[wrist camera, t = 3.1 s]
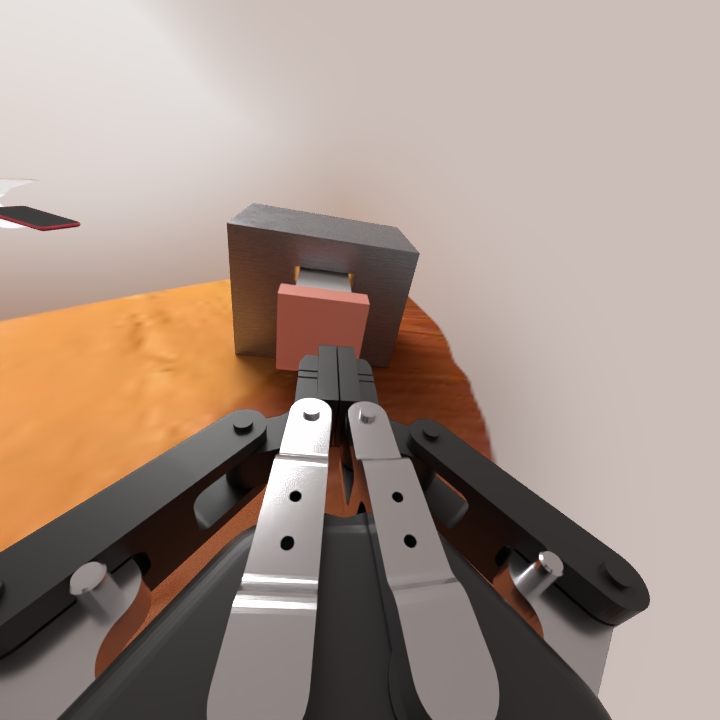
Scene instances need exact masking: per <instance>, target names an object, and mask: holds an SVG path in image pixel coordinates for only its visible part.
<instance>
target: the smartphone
mask: <svg viewBox="0 0 720 720" xmlns="http://www.w3.org/2000/svg"><path fill="white" fill-rule="evenodd" d="M0 218H2V219H5V220H9V221H12V222H15V223H19V224H22V225H25V226H28V227H30V228H33V229H36V230H40V231H51V230H59V229H67V228H73V227H79V226H80V223H79V222H77V221H74V220H71V219H67V218H64V217H60V216H57V215H53V214H50V213H47V212H43V211H40V210H37V209H33V208H29V207H26V206H12V207H0Z"/></svg>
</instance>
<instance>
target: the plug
mask: <svg viewBox="0 0 720 720" xmlns="http://www.w3.org/2000/svg"><path fill="white" fill-rule="evenodd" d="M369 306H370V303H369V300H368V296H367V295H366V294H359V293H351V287H350V281H349V275H348V273H340V272H333V271H326V270H319V269H312V268H305V267H300V269H299V274H298V278H297V282H296V285H289V284H281V285H280V288H279V291H278V301H277V343H276V369H282V370H294V371H299V364H300V361H301V360H302V359H303V357H304V356H305V355H314V356H318V350H319V344H321V345H332V346H336V348H337V346H344V347H354V350H355V357H356V359H359V355H360V350H361V346H362V341H363V336H364V331H365V326H366V321H367V316H368V311H369Z"/></svg>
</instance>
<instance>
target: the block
mask: <svg viewBox="0 0 720 720" xmlns="http://www.w3.org/2000/svg"><path fill="white" fill-rule="evenodd" d="M227 232H228V248H229V264H230V280H231V295H232V311H233V326H234V342H235V354H240V355H251V356H262V357H273V358H276V343H277V301H278V291H279V288H280V285H281V284H289V285H296V282H297V278H298V274H299V269H300V267H305V268H312V269H319V270H326V271H333V272H340V273H348V275H349V281H350V287H351V293H359V294H366V295H367V296H368V300H369V303H370V306H369V311H368V316H367V321H366V326H365V331H364V336H363V341H362V346H361V350H360V355H359V359H364V360H366V361H367V362H368V364H369V365H370V366H374V367H385V368H388V367H389V364H390V360H391V356H392V353H393V349H394V345H395V342H396V338H397V334H398V331H399V327H400V323H401V320H402V316H403V312H404V309H405V305H406V301H407V298H408V294H409V290H410V287H411V283H412V279H413V276H414V272H415V268H416V265H417V261H418V257H419V252H418V251H417V250H416V249H415V247H414V246H413V245H412V244H411V243H410V242H409V241H408V239H407V238H406V237H405V236H404V235H403V234H402V233H401V232H400V231H399V229H398V228H397V227H391V226H385V225H379V224H374V223H367V222H362V221H355V220H350V219H344V218H338V217H332V216H326V215H321V214H315V213H309V212H303V211H296V210H291V209H285V208H279V207H273V206H268V205H262V204H256V203H253V204H252V205H250V206H249V207H248V208H246V209H245V210H244V211H242V212H241V213H240V214H238V215H237V216H236V217H234V218H233V219H231V220H230V221H229V222H227Z"/></svg>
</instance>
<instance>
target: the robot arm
mask: <svg viewBox="0 0 720 720" xmlns="http://www.w3.org/2000/svg"><path fill="white" fill-rule="evenodd" d="M332 441H333V447H340V460H339V472H340V480H341V488H342V496H343V504H344V514H345V518H342V517H338V516H334V515H330V514H326V513H324V508H325V496H326V484H327V473H328V451H329V447H332ZM436 472H437V473H438V474H439V475H440V476H441V477H442V478H444V479H445V480H446V481H447V482H448V483H450V484H451V485H452V486H453V487H454V488H456V489H457V490H458V491H459V492H460V493H461V494H462V495H463V496H464V497H465V498H466V500H467V502H466V501H465V500H464V499H463V498H461V497H460V496H459V495H458V494H457V493H456V492H454V491H453V490H452V489H451V488H450V487H449V486H447V485H446V484H445V483H444V482H443V481H441V480H440V479H439V478H438V477H437V476H436ZM267 483H268V485H267V489H266V493H265V497H264V500H263V504H262V508H261V512H260V515H259V519H258V523H257V525H254V526H252V527H250V528H248V529H247V530H245V531H243V532H242V533H240V534H239V535H237V536H236V537H235V538H233V539H232V540H231V541H230V542H229V543H227V544H226V545H225V546H224V547H223V548H222V549H221V550H220V551H219V552H218V553H217V554H216V555H215V557H214V558H213V559H212V560H211V561H210V562H209V563H208V564H207V565H206V566H205V567H204V568H203V569H202V570H201V571H200V572H199V573H198V574H197V575H196V576H195V577H194V578H193V579H192V580H191V581H190V582H189V583H188V584H187V585H186V586H185V587H184V588H183V590H182V591H181V592H180V593H179V594H178V595H177V596H176V597H175V598H174V599H173V600H172V601H171V602H170V603H169V604H168V605H167V606H166V607H165V608H164V609H163V610H162V611H161V612H160V613H159V614H158V615H157V616H156V617H155V618H154V619H153V620H152V621H151V623H150V624H149V625H148V626H147V627H146V628H145V629H144V630H143V631H142V632H141V633H140V634H139V635H138V636H137V637H136V638H135V639H134V640H133V641H132V642H131V643H130V644H129V645H128V646H127V647H126V648H125V649H124V650H123V648H124V647H125V645H126V644H127V642H128V641H129V640H130V639H131V637H132V636H133V635H134V634H135V633H136V632H137V630H138V629H139V628H140V627H141V625H142V624H143V622H144V620H145V619H146V617H147V614H148V612H149V609H150V605H151V598H152V597H151V591H152V590H154V589H155V588H156V587H157V586H158V585H159V584H160V583H161V582H162V581H163V580H164V579H166V578H167V577H168V576H169V575H170V574H171V573H172V572H173V571H174V570H175V569H177V568H178V567H179V566H180V565H181V564H182V563H183V562H184V561H185V560H186V559H187V558H189V557H190V556H191V555H192V554H193V553H194V552H195V551H196V550H197V549H198V548H200V547H201V546H202V545H203V544H204V543H205V542H206V541H207V540H208V539H209V538H211V537H212V536H213V535H214V534H215V533H216V532H217V531H218V530H219V529H220V528H221V527H223V526H224V525H225V524H226V523H227V522H228V521H229V520H230V519H231V518H232V517H234V516H235V515H236V514H237V513H238V512H239V511H240V510H241V509H242V508H243V507H244V506H246V505H247V504H248V503H249V502H250V501H251V500H252V499H253V498H254V497H255V496H257V495H258V494H259V493H260V492H261V491H262V490H263V489H264V487H265V486H266V484H267ZM437 531H438V532H439V533H440V534H441V535H440V534H439V533H438V532H437ZM458 551H459V552H460V553H461V554H462V555H463V556H464V557H465V558H466V559H467V560H468V561H469V562H470V563H471V564H472V565H473V566H474V567H475V568H476V569H477V570H478V571H479V572H480V573H481V574H482V575H483V576H484V577H485V578H486V579H487V580H488V581H489V582H490V583H491V584H492V585H493V587H492V586H491V585H490V584H489V583H488V582H487V581H486V579H485V578H484V577H483V576H482V575H481V574H480V573H479V572H478V571H477V570H476V569H475V568H474V567H473V566H472V565H471V564H470V563H469V562H468V561H467V560H466V559H465V558H464V557H463V556H462V555H461V554H460V553H459V552H458ZM649 602H650V596H649V592H648V589H647V587H646V585H645V583H644V581H643V579H642V578H641V576H640V575H639V574H638V572H637V571H636V570H635V569H634V568H633V567H632V566H631V565H630V564H629V563H628V562H627V561H626V560H625V559H624V558H622V557H621V556H620V555H619V554H617V553H616V552H615V551H613V550H612V549H610V548H609V547H608V546H606V545H605V544H604V543H602V542H601V541H599V540H598V539H597V538H595V537H594V536H593V535H591V534H590V533H589V532H587V531H586V530H584V529H583V528H582V527H580V526H579V525H577V524H576V523H575V522H574V521H572V520H571V519H569V518H568V517H567V516H565V515H564V514H563V513H561V512H560V511H558V510H557V509H556V508H554V507H553V506H551V505H550V504H549V503H547V502H546V501H545V500H543V499H542V498H540V497H539V496H538V495H537V494H535V493H534V492H533V491H531V490H529V489H528V488H527V487H526V486H524V485H523V484H522V483H520V482H518V481H517V480H516V479H515V478H513V477H512V476H510V475H509V474H508V473H507V472H505V471H504V470H502V469H501V468H500V467H498V466H497V465H496V464H494V463H493V462H491V461H490V460H489V459H487V458H486V457H485V456H483V455H482V454H481V453H479V452H478V451H476V450H475V449H474V448H472V447H471V446H470V445H468V444H467V443H466V442H464V441H463V440H461V439H460V438H459V437H457V436H456V435H455V434H453V433H452V432H450V431H449V430H448V429H446V428H445V427H444V426H442V425H441V424H439V423H438V422H436V421H433V420H429V419H418V420H416V421H414V422H413V423H412V424H411V426H407V425H404V424H401V423H398V422H395V421H393V420H391V419H389V418H388V417H387V414H386V412H385V411H384V409H383V408H382V407H380V406H379V402H378V397H377V392H376V387H375V383H374V378H373V373H372V368H371V366H370V365H369V364H368V362H367V361H366V360H364V359H356V357H355V350H354V347H344V346H337V348H336V346H332V345H321V344H319V350H318V356H314V355H305V356H304V357H303V359H302V360H301V361H300V364H299V372H298V380H297V387H296V395H295V402H294V405H293V406H292V407H291V409H290V410H289V411H288V412H287V413H285V414H283V415H280V416H277V417H273V418H267V419H266V418H265V417H264V415H262V414H261V413H260V412H258V411H255V410H250V409H242V410H237V411H234V412H231V413H229V414H228V415H226V416H224V417H223V418H221V419H219V420H218V421H216V422H214V423H213V424H211V425H209V426H208V427H206V428H204V429H203V430H201V431H200V432H198V433H196V434H195V435H193V436H191V437H190V438H188V439H186V440H185V441H183V442H181V443H180V444H178V445H176V446H175V447H173V448H172V449H170V450H168V451H167V452H165V453H163V454H162V455H160V456H158V457H157V458H155V459H153V460H152V461H150V462H148V463H147V464H145V465H144V466H142V467H140V468H139V469H137V470H135V471H134V472H132V473H130V474H129V475H127V476H125V477H124V478H122V479H120V480H119V481H117V482H116V483H114V484H112V485H111V486H109V487H107V488H106V489H104V490H102V491H101V492H99V493H97V494H96V495H94V496H92V497H91V498H89V499H88V500H86V501H84V502H83V503H81V504H79V505H78V506H76V507H74V508H73V509H71V510H69V511H68V512H66V513H64V514H63V515H61V516H60V517H58V518H56V519H55V520H53V521H51V522H50V523H48V524H46V525H45V526H43V527H41V528H40V529H38V530H36V531H35V532H33V533H32V534H30V535H28V536H27V537H25V538H23V539H22V540H20V541H18V542H17V543H15V544H13V545H12V546H10V547H8V548H7V549H5V550H4V551H2V552H0V720H612V719H611V717H610V716H609V714H608V712H607V711H606V709H605V708H604V706H603V705H602V703H601V702H600V700H599V699H598V698H597V697H598V693H599V688H600V684H601V679H602V675H603V671H604V667H605V662H606V658H607V654H608V650H609V645H610V641H611V636H612V632H613V629H614V628H615V627H617V626H618V625H620V624H621V623H623V622H625V621H627V620H628V619H630V618H632V617H633V616H635V615H637V614H638V613H640V612H642V611H644V610H645V609H646V608H647V607H648V606H649ZM122 650H123V651H122ZM121 651H122V652H121Z"/></svg>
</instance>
